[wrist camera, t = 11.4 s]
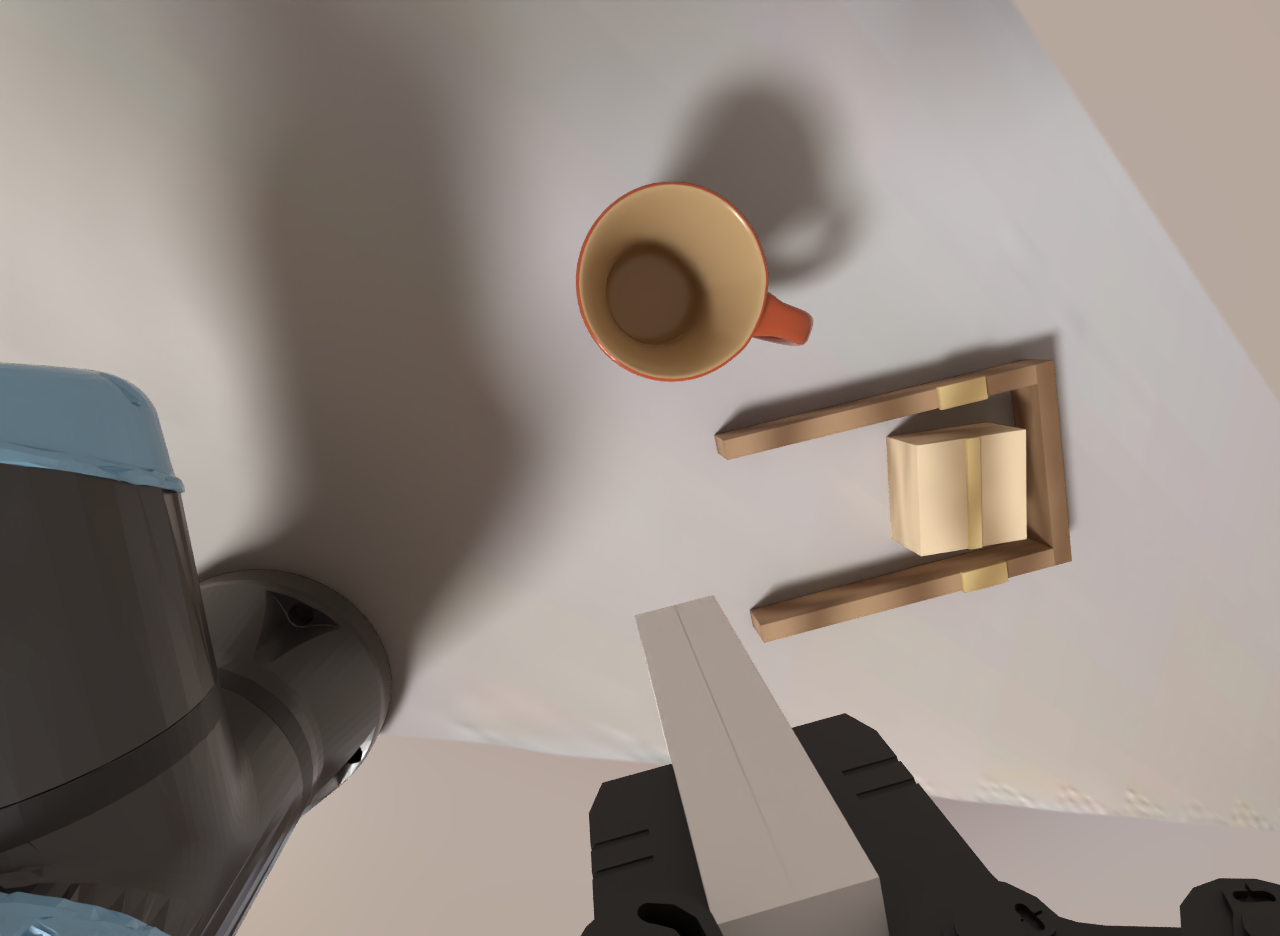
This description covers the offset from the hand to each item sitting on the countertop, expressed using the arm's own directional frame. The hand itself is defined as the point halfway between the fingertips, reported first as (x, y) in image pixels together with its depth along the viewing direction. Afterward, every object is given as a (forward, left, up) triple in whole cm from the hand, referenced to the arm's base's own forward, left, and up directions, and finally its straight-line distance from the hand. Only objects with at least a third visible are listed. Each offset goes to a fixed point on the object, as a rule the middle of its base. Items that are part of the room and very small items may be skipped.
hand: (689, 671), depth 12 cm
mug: (+6, +7, -30) cm, 31 cm away
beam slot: (+17, -8, -29) cm, 35 cm away
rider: (+21, -8, -30) cm, 37 cm away
